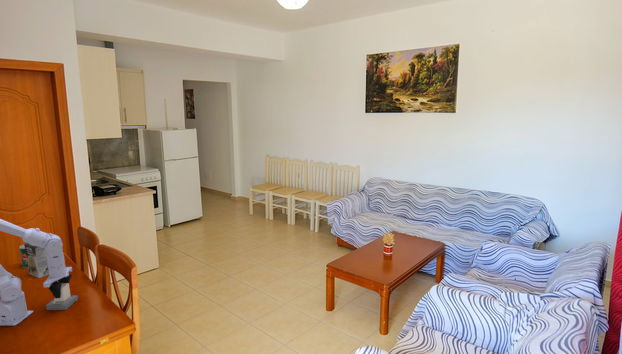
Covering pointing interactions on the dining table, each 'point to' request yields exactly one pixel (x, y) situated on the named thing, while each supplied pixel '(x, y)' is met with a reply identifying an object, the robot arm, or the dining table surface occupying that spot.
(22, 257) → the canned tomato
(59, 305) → the gray base
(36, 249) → the coffee box
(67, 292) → the cream block
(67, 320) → the dining table surface
